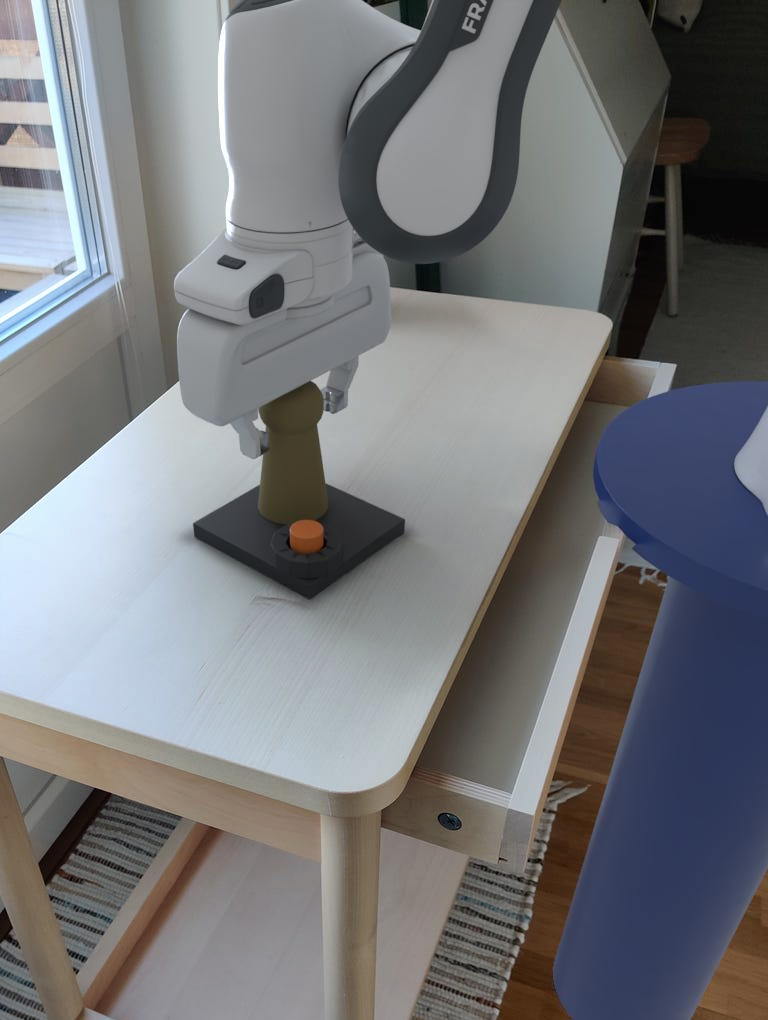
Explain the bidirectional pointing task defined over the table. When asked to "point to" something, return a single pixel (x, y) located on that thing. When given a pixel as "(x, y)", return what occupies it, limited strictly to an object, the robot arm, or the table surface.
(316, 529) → the button
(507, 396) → the table surface
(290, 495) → the olive tapered knobbed cylinder
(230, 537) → the dark grey flat block
